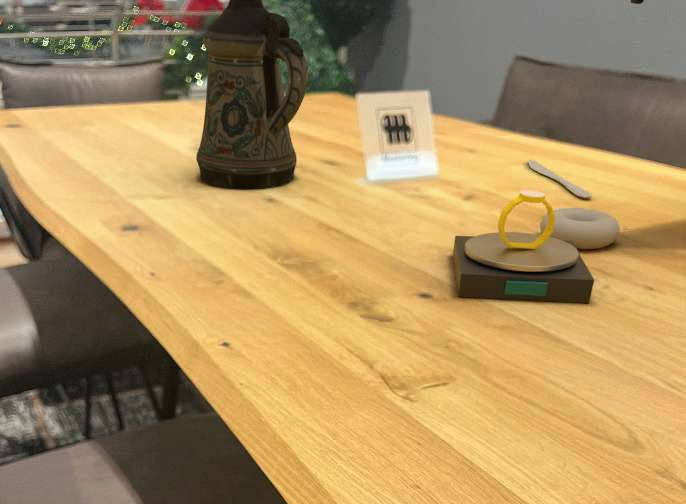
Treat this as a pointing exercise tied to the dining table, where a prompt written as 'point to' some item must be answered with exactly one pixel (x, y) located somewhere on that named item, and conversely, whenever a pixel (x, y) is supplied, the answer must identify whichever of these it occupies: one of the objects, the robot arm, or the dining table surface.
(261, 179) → the beer stein
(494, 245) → the scale pan
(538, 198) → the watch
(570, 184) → the butter knife
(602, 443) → the dining table surface
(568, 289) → the scale
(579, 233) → the donut
